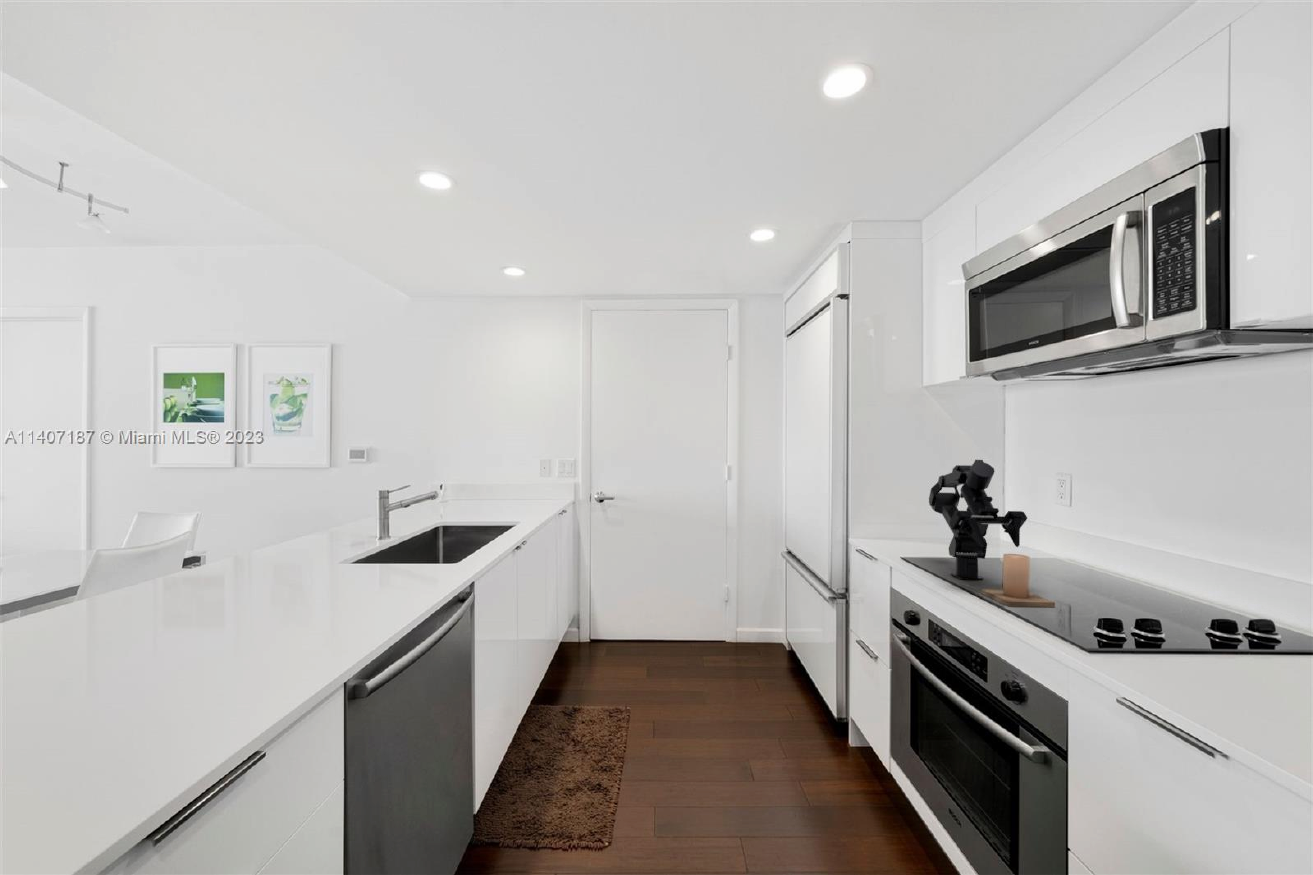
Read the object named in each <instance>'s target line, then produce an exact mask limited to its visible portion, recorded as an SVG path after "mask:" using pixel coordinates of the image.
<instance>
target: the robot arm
mask: <svg viewBox="0 0 1313 875" xmlns="http://www.w3.org/2000/svg"><path fill="white" fill-rule="evenodd" d="M994 474H995V468H994V467H993V466H992V465H990V464H989V463H987V462H984V460H983V459H975V460H974V462H973V463H972V464H971V465H966V464H962V465H957V464H956V465H955V466H954V467H952V470H951V472H949V473H946V474H943V475H940V476H938V480H937V482H936V483H935V484H934V485H933V486H932V487H931V488H930V490H929V491H930V492H929V495H928V496H929V497H928V503H929V506H930V507H931V509H932V510H933V511H934V512H935V513H938V514H940V515H942V516H943V519H944V520H945V521H946V522H945V523H946V524H947V525H948V527H949V529H950V530H951V533H952V536H953V537H951V538H952V539H951V541H950V543H949V546H948V555H949V556H951V557H952V558H955V572H950V575H951V576H953V577H954V578H955V577H956V578H957V579H960V580H968V581H969V580H970V581H971V580H978V581H979V580H981V581H983V580H984V577H982V576H979V559H982V560H984V559H986V555H987V554H986V553H987V548H988V543H987V540H986V538H985V536H986V535H987V531H988V528H989V525H1001V527H1002V529H1004V531H1003V532H1004V533H1007V534H1008V535H1009V537H1010V539H1011V541H1012V543H1013V544H1014V547H1016V548H1019V547H1020V543H1021V542H1020V541H1021V540H1020V537H1021V536H1020V535H1021V534H1020V533H1021V531H1020V530H1021V528H1022V527H1023V525H1024V524H1025V522H1026V521H1027V520H1028V516H1027V515H1026V513H1025V512H1024V511H1022V510H1008V511H1007V512H1006V514H1005V515H1003V516H999V515H998V513H999V512H1000V510H999V508H998V507H996V508H995V507H994V505H993V504H992V501H993V497H992V496H989V495H988V494H987V492H986V490H985V489H988V487H989V486H990V484H991V481H992V479H993V477H994ZM958 486H961V487H960V490H958ZM943 488H946V489H947V488H954V492H941V491H942V489H943ZM959 491H960V492H959ZM960 499H964V501H965V503H966V505H967V507H966V510H959V509H958V506H959V504H960V503H959V502H960Z"/></svg>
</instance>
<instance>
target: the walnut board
mask: <svg viewBox="0 0 1313 875" xmlns="http://www.w3.org/2000/svg"><path fill="white" fill-rule="evenodd" d="M980 594H981V595H983V596H985V597H988V598H990V599H992V600H994V601H995V602H998V603H1000V604H1003V605H1005V606H1007V607H1008V608H1012V607H1013V608H1056V602H1055V601H1054V600H1050V599H1048V598H1045V597H1042V596H1040V595H1038V594H1035V593H1033V592H1030V591H1029V598H1015V597H1010V596H1006V595H1004V594H1003V588H999V589H998V588H997V589H996V588H981V589H980Z"/></svg>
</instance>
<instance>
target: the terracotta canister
mask: <svg viewBox="0 0 1313 875" xmlns="http://www.w3.org/2000/svg"><path fill="white" fill-rule="evenodd" d="M1002 558H1003V561H1002V562H1003V565H1002V566H1003V567H1002V569H1003V570H1002V571H1003V572H1002V573H1003V574H1002V575H1003V576H1002V577H1003V578H1002V584H1003V585H1002V589H1003V594H1004V595H1006V596H1010V597H1015V598H1029V592H1030V572H1031V570H1030V564H1031V563H1030V556H1029V555H1025V554H1018V553H1017V554H1016V553H1003V557H1002Z"/></svg>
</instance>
